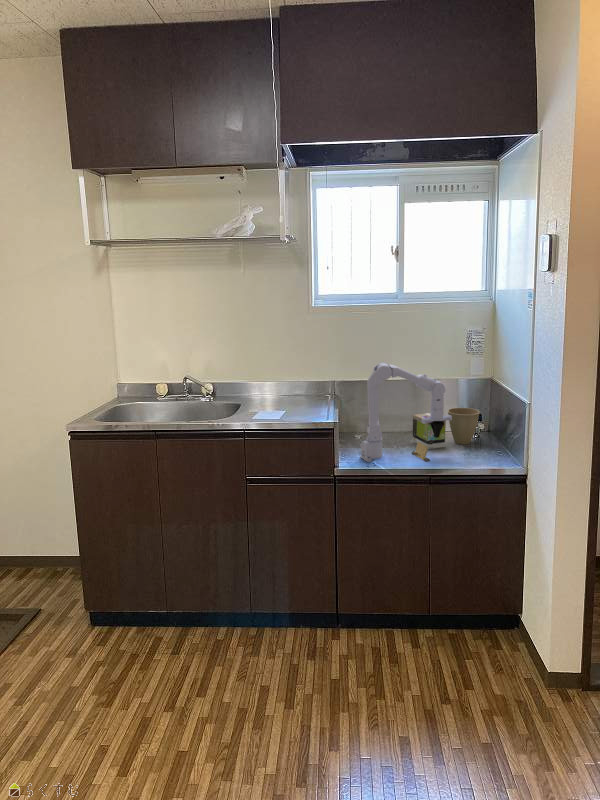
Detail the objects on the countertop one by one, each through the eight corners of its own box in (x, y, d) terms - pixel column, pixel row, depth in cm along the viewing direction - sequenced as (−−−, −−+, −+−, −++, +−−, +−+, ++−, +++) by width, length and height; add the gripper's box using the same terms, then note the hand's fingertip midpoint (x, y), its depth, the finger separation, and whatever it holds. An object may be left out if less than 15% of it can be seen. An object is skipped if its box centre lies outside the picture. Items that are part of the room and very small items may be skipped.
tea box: (445, 449, 289) (446, 419, 286) (427, 451, 286) (427, 421, 283) (429, 440, 303) (430, 412, 300) (411, 443, 300) (412, 414, 297)
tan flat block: (427, 446, 269) (430, 447, 270) (417, 441, 277) (420, 442, 278) (423, 461, 270) (426, 462, 271) (413, 456, 278) (417, 456, 279)
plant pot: (477, 447, 289) (479, 415, 286) (445, 445, 294) (446, 414, 290) (478, 439, 303) (480, 408, 299) (448, 437, 307) (449, 406, 304)
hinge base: (425, 464, 269) (425, 458, 268) (411, 456, 280) (411, 451, 279) (443, 461, 272) (443, 456, 271) (429, 453, 283) (429, 448, 282)
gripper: (427, 411, 266) (427, 441, 269) (456, 408, 271) (455, 437, 274) (419, 408, 273) (418, 437, 276) (447, 404, 277) (446, 433, 280)
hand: (436, 437), depth 275 cm, fingers closed
